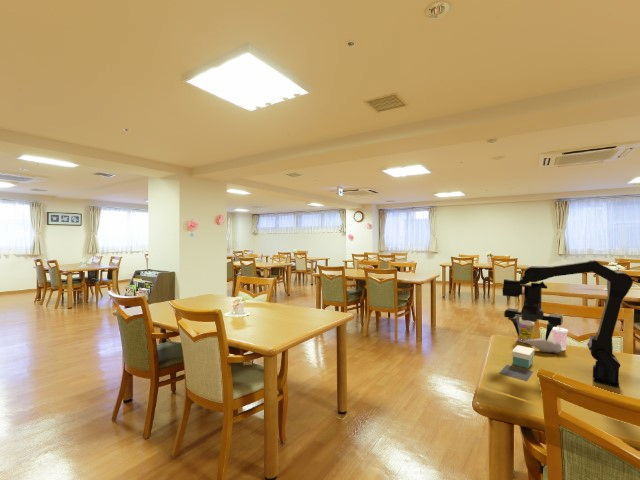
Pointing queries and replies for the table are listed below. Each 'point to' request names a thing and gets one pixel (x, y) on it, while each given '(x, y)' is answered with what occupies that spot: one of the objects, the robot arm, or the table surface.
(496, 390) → the table surface
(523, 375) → the mat
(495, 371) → the table surface
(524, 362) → the teal open box
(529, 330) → the supplement bottle
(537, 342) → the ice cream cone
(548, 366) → the table surface
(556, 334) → the beverage cup
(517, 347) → the lid
